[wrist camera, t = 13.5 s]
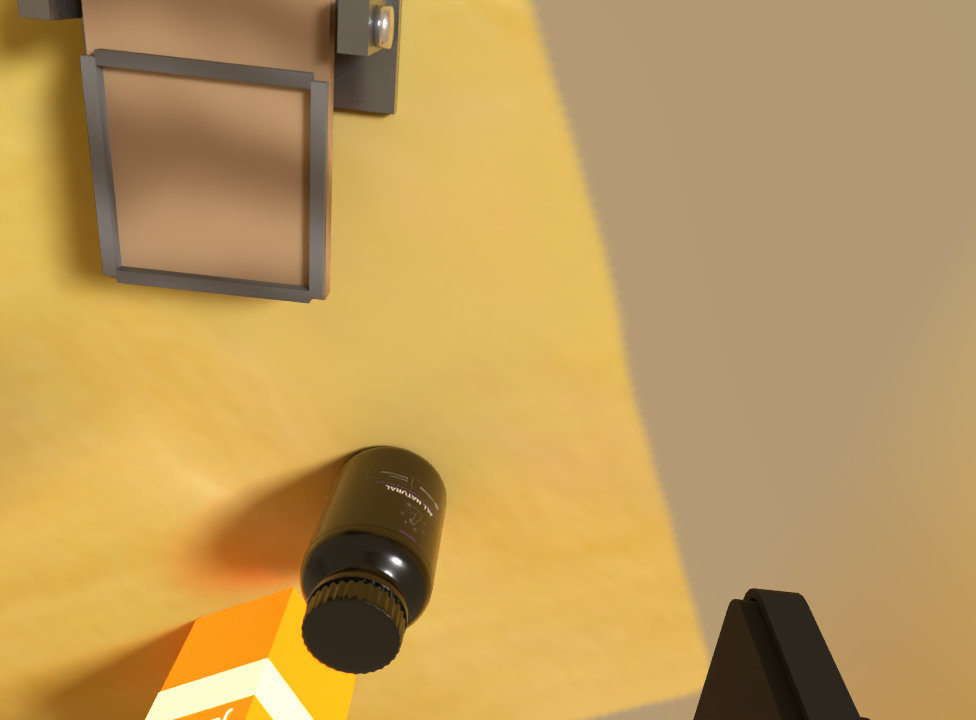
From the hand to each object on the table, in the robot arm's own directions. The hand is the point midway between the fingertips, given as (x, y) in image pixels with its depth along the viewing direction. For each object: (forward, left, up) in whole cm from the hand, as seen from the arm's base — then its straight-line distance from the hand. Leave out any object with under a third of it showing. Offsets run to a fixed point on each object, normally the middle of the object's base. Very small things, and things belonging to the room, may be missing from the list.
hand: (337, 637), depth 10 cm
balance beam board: (+5, +11, -28) cm, 30 cm away
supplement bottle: (-21, +3, -32) cm, 39 cm away
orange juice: (-35, +10, -32) cm, 49 cm away
